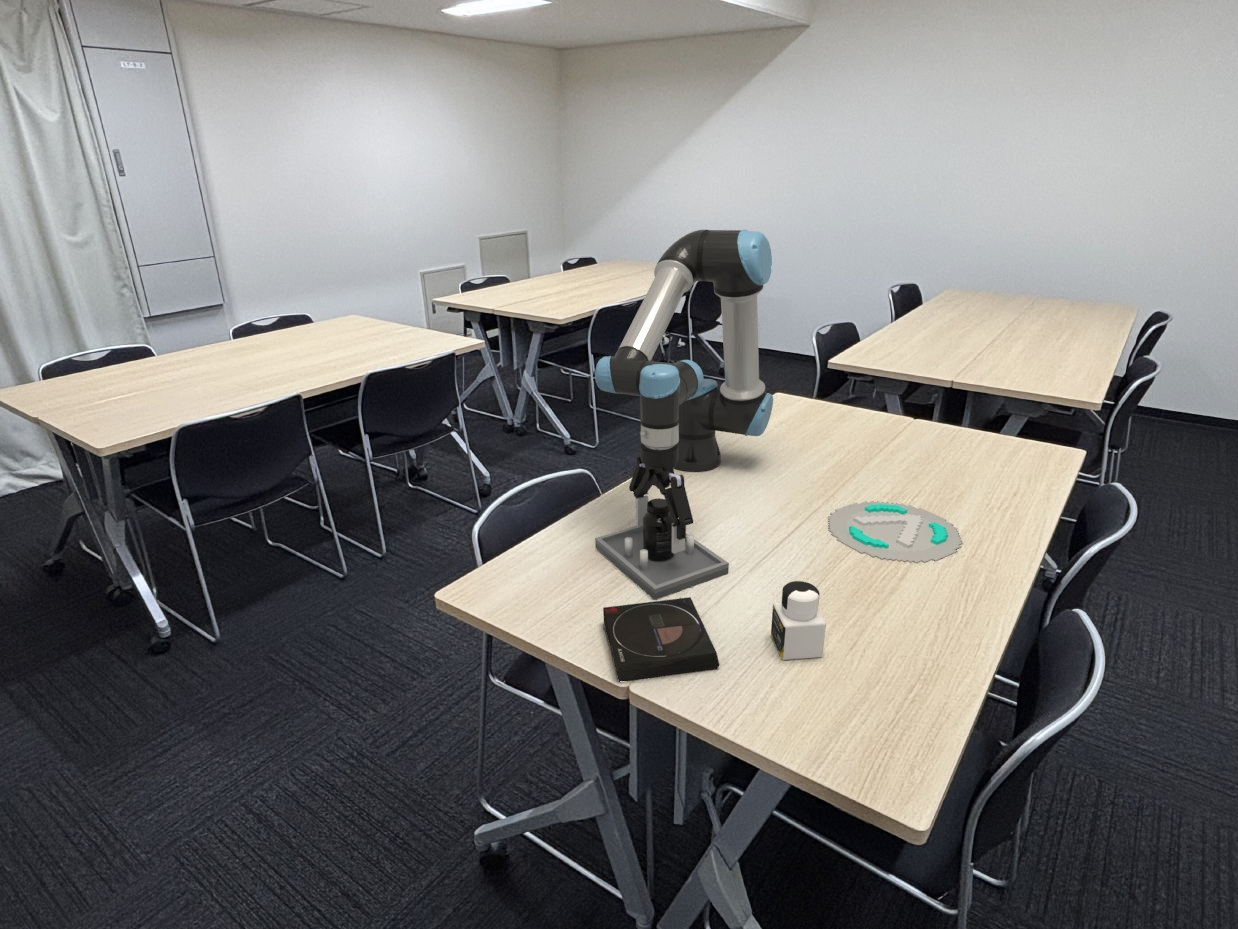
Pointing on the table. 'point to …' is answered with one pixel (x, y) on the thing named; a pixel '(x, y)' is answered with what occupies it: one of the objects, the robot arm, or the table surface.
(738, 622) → the table surface
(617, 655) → the portable cd player
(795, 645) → the medicine bottle
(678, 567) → the pin tray
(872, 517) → the grey symbol plate
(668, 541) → the supplement bottle
